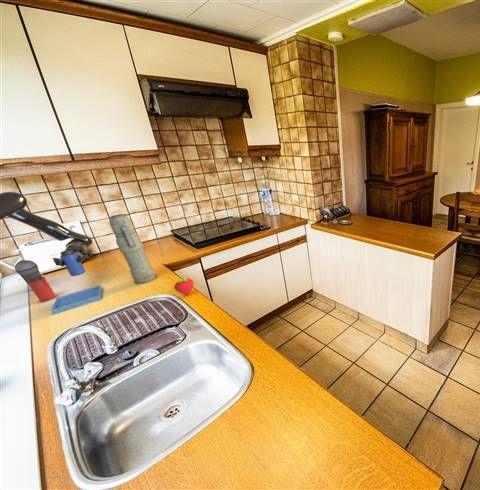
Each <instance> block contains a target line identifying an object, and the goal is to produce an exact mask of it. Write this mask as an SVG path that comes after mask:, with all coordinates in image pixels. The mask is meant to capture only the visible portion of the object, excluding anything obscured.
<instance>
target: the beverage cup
mask: <svg viewBox="0 0 480 490" xmlns="http://www.w3.org/2000/svg"><path fill="white" fill-rule="evenodd" d="M19 255H20V256H21V259H22V260H20V261H18V262H16V264H15V265H14V271H15V272H16V273H17V274H18V275H19V276H20V277H21V278H22V280H23V281H24V282H25V283H26V284H27V285H28V286H29V287H30V285H29V284H28V281H29V280H28V278H30V277H32V276H36V275H41V276H42V274H41V272H40V269H39V266H38V264H37V263H36V262H35V261H33V260H28V259H27V260H26V259H25V257H24V255H23V253H22V251H19Z"/></svg>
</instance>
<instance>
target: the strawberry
mask: <svg viewBox="0 0 480 490" xmlns="http://www.w3.org/2000/svg"><path fill="white" fill-rule="evenodd" d="M173 285H174V286H173V288H174V290H176V292H178V293H180V294H182V295H185V296H188V295H190V294H191V292H192V290H193V288H194V281H193V279H192V278H189V277H183V276H181V278H180V279H177V280H176V281H175V284H173Z"/></svg>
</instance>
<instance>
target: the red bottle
mask: <svg viewBox="0 0 480 490" xmlns="http://www.w3.org/2000/svg"><path fill="white" fill-rule="evenodd" d="M28 280H29V281H28V284H29V285H30V286H29V285H28V284H27V285H28V286H29V287H30V288H31V290H32V292H33V293H34V295H35V296H36V297H37V299H38V301H39V302H41V303H43V302H49V301H51V300H54V299H56V298H57V295H56V293H55V292H54V290H53V288H52V286H51V285H50V284H49V282H48V281H47V279H46V277H45V276H42V274H41V275H36V276H32V277H30V278H28Z"/></svg>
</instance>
